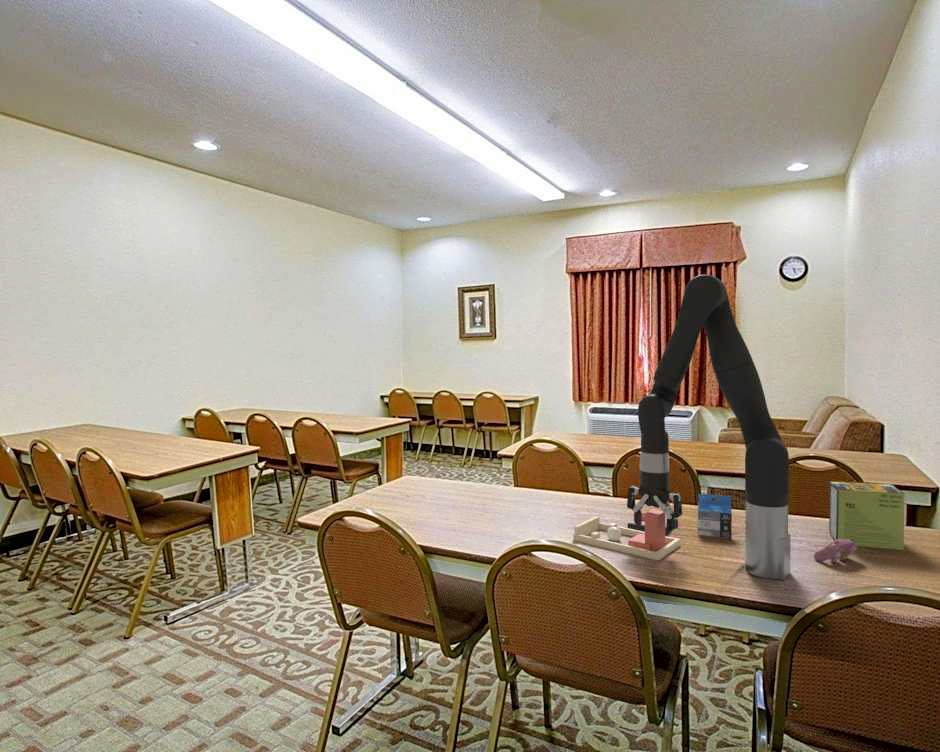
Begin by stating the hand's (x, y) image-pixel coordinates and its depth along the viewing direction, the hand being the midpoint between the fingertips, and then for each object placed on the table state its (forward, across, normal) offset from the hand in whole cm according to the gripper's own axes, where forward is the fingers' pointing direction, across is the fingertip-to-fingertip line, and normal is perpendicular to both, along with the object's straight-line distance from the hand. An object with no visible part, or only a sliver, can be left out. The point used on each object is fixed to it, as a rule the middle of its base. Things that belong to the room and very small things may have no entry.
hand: (653, 528), depth 153 cm
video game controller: (+6, -38, -24) cm, 46 cm away
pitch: (+7, +8, 0) cm, 11 cm away
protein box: (+6, -42, -45) cm, 62 cm away
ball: (+4, +12, 0) cm, 12 cm away
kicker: (+6, +2, 0) cm, 6 cm away
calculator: (+8, +8, -18) cm, 21 cm away
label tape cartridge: (+7, -8, -22) cm, 25 cm away
